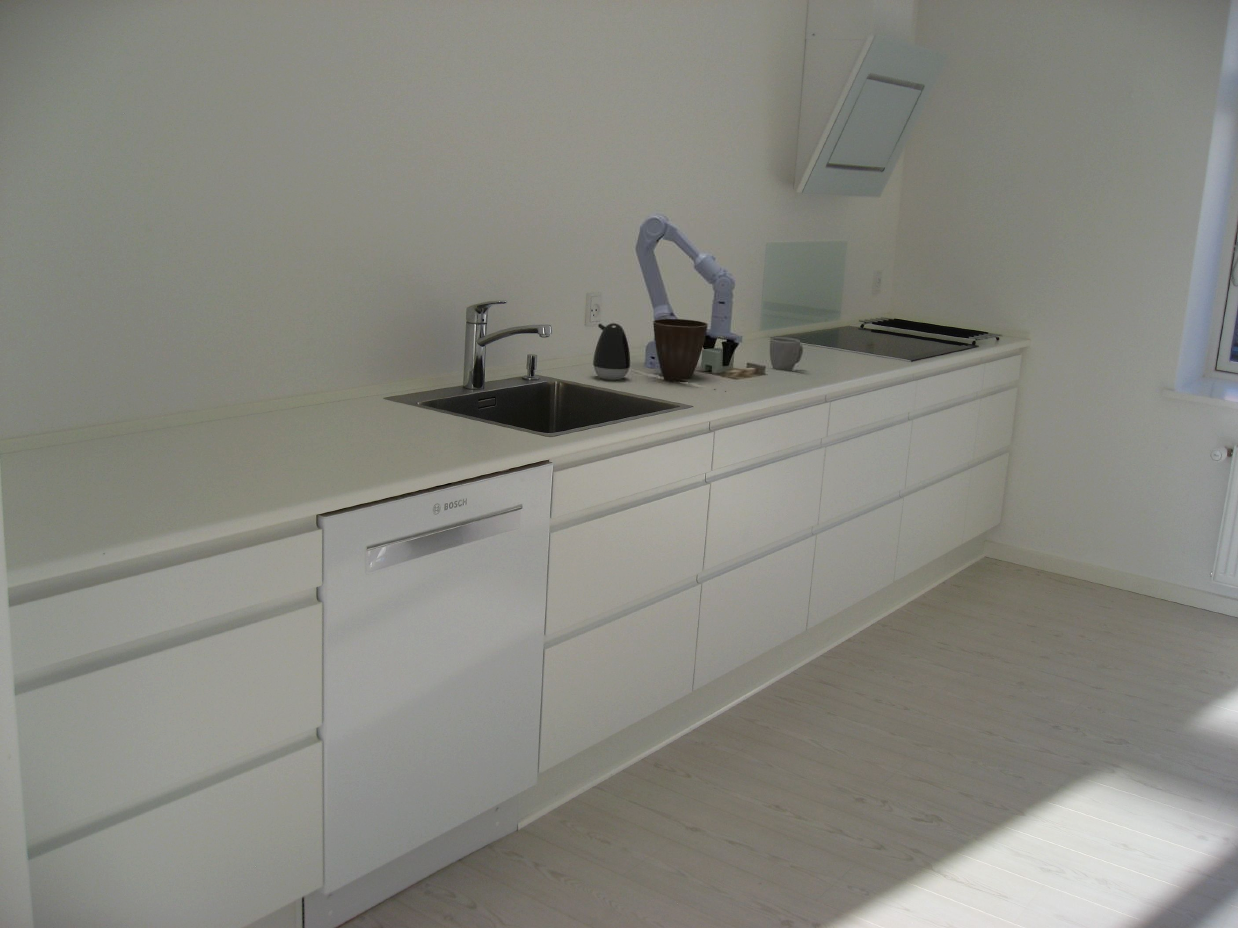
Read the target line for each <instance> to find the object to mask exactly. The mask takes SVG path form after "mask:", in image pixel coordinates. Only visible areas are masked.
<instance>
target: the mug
mask: <svg viewBox="0 0 1238 928" xmlns="http://www.w3.org/2000/svg"><path fill="white" fill-rule="evenodd" d="M769 341H770V342H769V359H770V362H771V366H772V369H775V370H779V371H784V372H785V371H786V372H790V373H792V371H793V369H794V367H795V365H796V364H798V363H800V360H801V359H802V357H803V353H804V347H803V345H802V344H801V340H799V339H798V338H797V339H796V338H792V337H784V336H783V337H781V336H780V337H779V336H778V337H775V336H774V337H771V338H770V340H769Z"/></svg>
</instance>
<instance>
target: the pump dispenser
mask: <svg viewBox="0 0 1238 928" xmlns="http://www.w3.org/2000/svg"><path fill="white" fill-rule="evenodd" d="M597 327H598V328H599V329H601V333H600V335H599V337H598V340H597V343H596V346H595V350H594V353H593V358H592V359H593V360H592V365H593V368H594V372H595V374H596V375H597V377H599V378H601V379H602V380H606V381H619V380H621V379H623V378H624V377H626V375H627V374H628V373H629V369H630V368H631V352H630V345H629V341H628V338H627V335H626V332H625V330H624V329H623V326H621V325H620V324H618V323H615V322H611V323H609V324H607V325H606V326H605V325H604V324H602V323H599V324H597Z"/></svg>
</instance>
